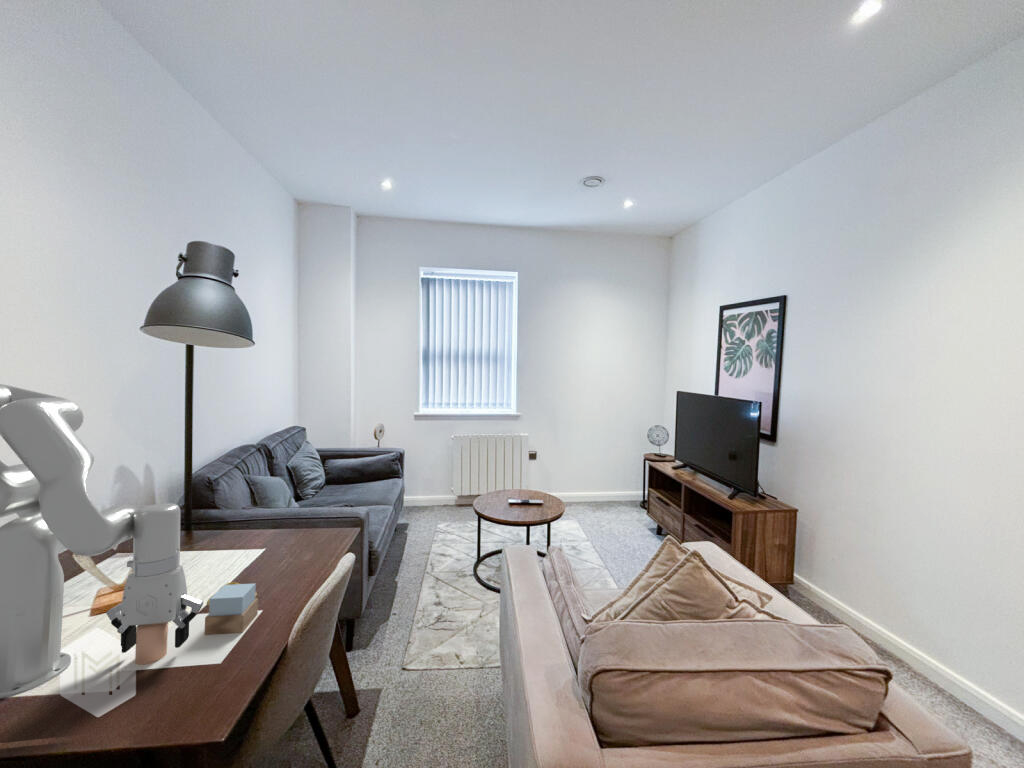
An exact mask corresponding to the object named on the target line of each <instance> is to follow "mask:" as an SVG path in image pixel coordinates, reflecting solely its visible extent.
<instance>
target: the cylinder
mask: <svg viewBox="0 0 1024 768" xmlns="http://www.w3.org/2000/svg"><path fill="white" fill-rule="evenodd" d="M136 627H137V633H136V644H135V655H134V656H135V657H134V659H135V663H136V664H137V665H146V664H150V663H153V662H156V661H158V660H160V659H162V658H163V657H164V656H165V655H166V654H167V637H168V629H169V622H168V623H160V624H148V625H136Z"/></svg>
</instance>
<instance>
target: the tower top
mask: <svg viewBox="0 0 1024 768" xmlns="http://www.w3.org/2000/svg"><path fill="white" fill-rule="evenodd" d="M256 584H257V583H239V584H234V585H225V584H224V585H223V586H221V587H222V588H221V587H220V588H221V589H220V588H219V589H220V590H219V589H218V590H219V591H217V592H215V593H216V594H215V593H213V595H211V596H212V597H211V596H210V597H211V598H210V597H209V598H210V601H209V605H208V607H209V608H208V613H209V616H224V615H241V614H243V613H244V612H245V611H246V609H247V608H248V607H249V606H250V605H251V604H252V603H253V601H254V600H255V599H256V596H255V592H256V591H257V590H256V589H257V588H256V587H257V585H256Z"/></svg>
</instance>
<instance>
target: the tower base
mask: <svg viewBox="0 0 1024 768" xmlns="http://www.w3.org/2000/svg"><path fill="white" fill-rule="evenodd" d="M258 610H259V598H255V600H254V601H253V603H252V604H251V605H250V606H249V607H248V608H247V609H246V611H245V612H244V613H243V614H241V615H224V616H209V614H208V615H207V616H206V617H205V632H204V635H217V634H232V633H243V632H244V630H245V629H246V628H247V627H248V626H249V624H250V623H251V622H252V621H253V619H254V618H255V617H256V616H257V613H258Z"/></svg>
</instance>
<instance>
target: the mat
mask: <svg viewBox="0 0 1024 768" xmlns="http://www.w3.org/2000/svg"><path fill="white" fill-rule="evenodd" d="M263 611H264V610H263V609H261V610H259V609H258V613H257V616H256V617H255V618H254V619H253V621H252V622H251V623H250V624H249V626H248V627H247V628H246V629H245V630H244V632H243V633H232V634H217V635H204V632H205V617H206V616H207V615H208V614H209V612H207V613H198V614H197V615H196V616H195V617H194V618H193V619H192V620H191V621H190V622H189V637H188V639H187V640H186V641H185V642H184V643H183V644H182V645H181V646H180V647H179V648H176V647H175V630H176V629H177V628H178V626H177V625H176V624H175V623H174V622H173V624H172V625H171V626H170V627H168V637H167V654H166V655H165V656H164V657H163V658H162V659H160V660H158V661H156V662H153V663H150V664H146V665H137V664H136V663H135V658H133V660H131V661H130V662H129V663H128V664H126V666H124V667H123V668H122V669H121V670H120V672H131V671H142V670H157V669H168V668H179V667H180V668H181V667H191V666H192V667H194V666H206V665H218V664H219V665H220V664H222V663H223V661H224V660H225V659H226V658H227V656H228V655H229V653H230V652H232V649H234V647H235V646H236V645H237V644H238V642H239V641H241V638H243V636H244V635H245V633H246V632H247V631H248V630H249V628H250V627H251V626H252V625H253V624H254V622H255V621H256V620H257V619H258V617H259V616H260V615H261V613H262V612H263Z"/></svg>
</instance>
